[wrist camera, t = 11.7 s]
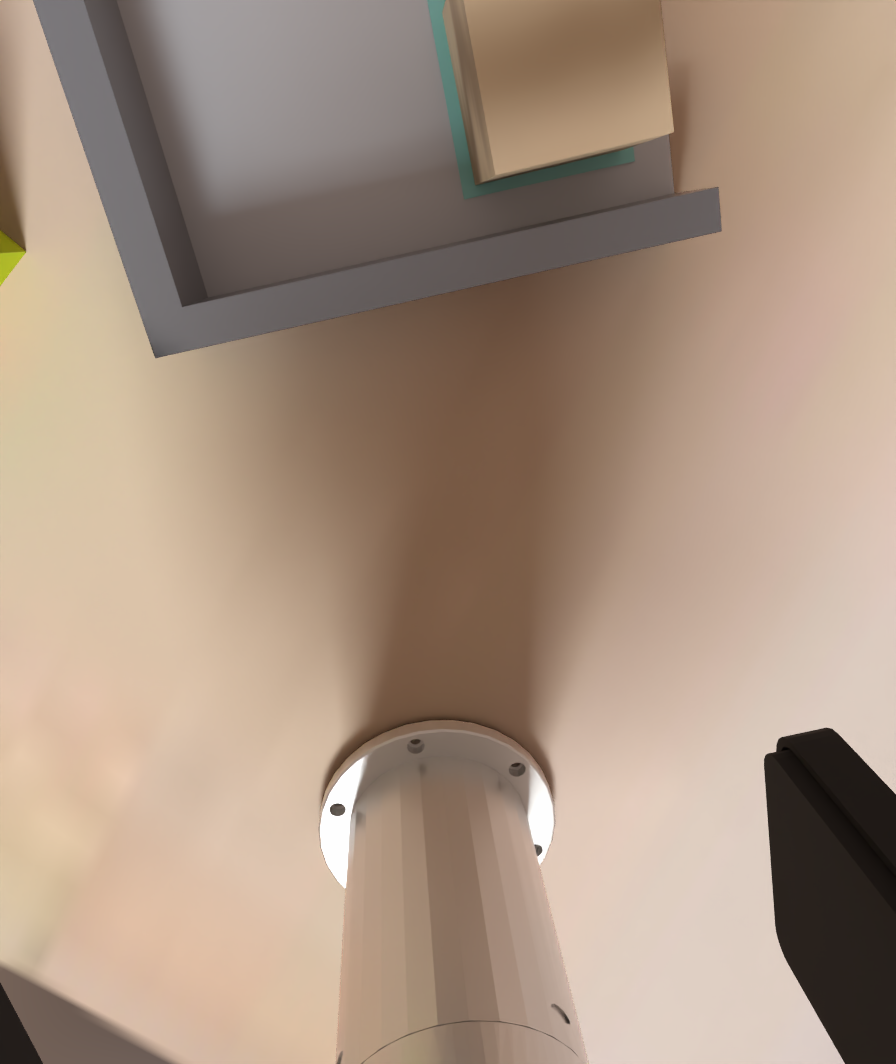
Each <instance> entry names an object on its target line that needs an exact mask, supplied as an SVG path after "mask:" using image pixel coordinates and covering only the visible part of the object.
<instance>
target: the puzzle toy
mask: <svg viewBox="0 0 896 1064" xmlns="http://www.w3.org/2000/svg"><path fill="white" fill-rule="evenodd" d="M25 253H26V251H25V250H24V249H23V248H21V247H20V246H19V245H18V244H17V243H15V242H14V241H13V240H12V239H11V238H9V237H8V236H7V235H6V234H5V233H3V232H2V231H1V230H0V286H1V284H2V283H3V282H4V280H5V279H6V278H7V276H8V275H9V274H10V272H11V271H12V270H13V269H14V267H15V266H16V265H17V263H18V262H19V261H20V259H21V258H22V257H23V255H24V254H25Z"/></svg>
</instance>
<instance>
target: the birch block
mask: <svg viewBox="0 0 896 1064" xmlns="http://www.w3.org/2000/svg"><path fill="white" fill-rule="evenodd" d="M442 15H443V20H444V26H445V31H446V36H447V41H448V46H449V52H450V57H451V62H452V67H453V73H454V78H455V83H456V88H457V93H458V99H459V104H460V109H461V114H462V119H463V125H464V130H465V135H466V140H467V145H468V151H469V156H470V161H471V166H472V172H473V177H474V182H475V185H479V184H484V183H488V182H492V181H496V180H500V179H505V178H509V177H513V176H517V175H521V174H525V173H530V172H534V171H538V170H542V169H546V168H550V167H555V166H559V165H563V164H567V163H571V162H576V161H580V160H584V159H588V158H592V157H596V156H601V155H605V154H609V153H613V152H617V151H621V150H624V149H627V148H630V147H633V146H636V145H639V144H642V143H645V142H647V141H650V140H653V139H656V138H659V137H662V136H665V135H668V134H670V133H673V132H674V126H673V116H672V107H671V97H670V87H669V78H668V68H667V59H666V49H665V39H664V30H663V20H662V11H661V1H660V0H446V1H445V4H444V8H443V12H442Z"/></svg>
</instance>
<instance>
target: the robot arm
mask: <svg viewBox="0 0 896 1064" xmlns="http://www.w3.org/2000/svg"><path fill="white" fill-rule="evenodd" d="M764 770H765V784H766V798H767V813H768V827H769V841H770V856H771V870H772V884H773V898H774V913H775V926H776V933H777V937H778V940H779V943H780V946H781V949H782V952H783V954H784V957H785V959H786V961H787V963H788V964H789V966H790V968H791V970H792V971H793V973H794V975H795V977H796V978H797V980H798V982H799V984H800V985H801V987H802V989H803V991H804V992H805V994H806V996H807V998H808V1000H809V1001H810V1003H811V1005H812V1007H813V1008H814V1010H815V1012H816V1014H817V1015H818V1017H819V1019H820V1021H821V1022H822V1024H823V1026H824V1028H825V1029H826V1031H827V1033H828V1035H829V1036H830V1038H831V1040H832V1042H833V1043H834V1045H835V1047H836V1049H837V1050H838V1052H839V1054H840V1056H841V1057H842V1059H843V1061H844V1063H845V1064H896V794H895V793H894V792H893V791H892V790H891V789H890V788H889V787H888V786H887V785H886V784H885V783H884V782H883V781H882V780H881V778H880V777H879V776H878V775H877V774H876V773H875V772H874V771H873V770H872V769H871V768H870V767H869V766H868V765H867V764H866V763H865V762H864V761H863V760H862V758H861V757H860V756H859V755H858V754H857V753H856V752H855V751H854V750H853V749H852V748H851V747H850V746H849V745H848V744H847V743H846V742H845V741H844V740H843V738H842V737H841V736H840V735H839V734H838V733H836V732H835V731H834V730H833V729H830V728H823V729H818V730H814V731H809V732H804V733H800V734H795V735H790V736H786V737H782V738H780V739H779V740H778V742H777V750H776V752H774V753H769V754H767V755H766V756H765V759H764ZM554 827H555V810H554V802H553V798H552V795H551V791H550V788H549V784H548V782H547V780H546V778H545V776H544V774H543V771H542V769H541V768H540V766H539V765H538V764H537V762H536V761H535V760H534V758H533V757H532V756H531V755H530V753H529V752H527V751H526V750H525V749H524V748H523V747H521V746H520V745H519V744H518V743H517V742H515V741H514V740H513V739H511V738H509V737H507V736H505V735H503V734H502V733H500V732H498V731H496V730H493V729H490V728H487V727H484V726H481V725H478V724H475V723H469V722H462V721H455V720H429V721H423V722H418V723H412V724H407V725H404V726H401V727H398V728H395V729H392V730H390V731H387V732H384V733H382V734H380V735H379V736H377V737H375V738H373V739H372V740H370V741H368V742H366V743H364V744H363V745H362V746H361V747H360V748H358V749H357V750H356V751H355V752H354V753H352V754H351V755H350V756H349V757H348V758H347V759H346V760H345V761H344V762H343V764H342V765H341V766H340V767H339V768H338V770H337V771H336V772H335V773H334V775H333V777H332V779H331V781H330V783H329V785H328V787H327V789H326V790H325V794H324V798H323V801H322V805H321V809H320V821H319V838H320V847H321V850H322V853H323V856H324V859H325V862H326V864H327V866H328V867H329V869H330V871H331V872H332V874H333V875H334V877H335V879H336V880H337V881H338V882H339V883H340V884H341V885H342V886H343V887H344V888H345V903H344V921H343V940H342V958H341V976H340V994H339V1012H338V1030H337V1048H336V1064H589V1062H588V1058H587V1054H586V1050H585V1046H584V1042H583V1038H582V1034H581V1030H580V1026H579V1022H578V1018H577V1014H576V1010H575V1006H574V1002H573V998H572V994H571V990H570V986H569V982H568V978H567V974H566V970H565V966H564V962H563V958H562V954H561V950H560V946H559V942H558V938H557V934H556V930H555V926H554V922H553V918H552V914H551V910H550V906H549V902H548V898H547V894H546V890H545V886H544V882H543V878H542V874H541V870H540V865H541V863H542V862H543V860H544V858H545V857H546V855H547V852H548V850H549V847H550V845H551V842H552V840H553V834H554ZM0 1064H43V1063H42V1061H41V1059H40V1057H39V1056H38V1053H37V1051H36V1049H35V1048H34V1046H33V1044H32V1042H31V1040H30V1038H29V1036H28V1034H27V1032H26V1031H25V1029H24V1027H23V1025H22V1023H21V1021H20V1019H19V1017H18V1015H17V1013H16V1011H15V1010H14V1008H13V1006H12V1004H11V1002H10V1000H9V998H8V996H7V994H6V993H5V991H4V989H3V987H2V985H1V983H0Z"/></svg>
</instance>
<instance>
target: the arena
mask: <svg viewBox="0 0 896 1064" xmlns="http://www.w3.org/2000/svg"><path fill="white" fill-rule="evenodd" d="M445 1H446V0H33V2H34V5H35V8H36V11H37V14H38V16H39V19H40V22H41V25H42V28H43V31H44V34H45V37H46V40H47V43H48V46H49V49H50V52H51V55H52V57H53V60H54V63H55V66H56V69H57V72H58V75H59V78H60V81H61V84H62V87H63V90H64V93H65V96H66V98H67V101H68V104H69V107H70V110H71V113H72V116H73V119H74V122H75V125H76V128H77V131H78V134H79V136H80V139H81V142H82V145H83V148H84V151H85V154H86V157H87V160H88V163H89V166H90V169H91V172H92V175H93V177H94V180H95V183H96V186H97V189H98V192H99V195H100V198H101V201H102V204H103V207H104V210H105V213H106V216H107V218H108V221H109V224H110V227H111V230H112V233H113V236H114V239H115V242H116V245H117V248H118V251H119V254H120V256H121V259H122V262H123V265H124V268H125V271H126V274H127V277H128V280H129V283H130V286H131V289H132V292H133V295H134V297H135V300H136V303H137V306H138V309H139V312H140V315H141V318H142V321H143V324H144V327H145V330H146V333H147V336H148V338H149V341H150V344H151V347H152V350H153V353H154V356H155V358H158V357H163V356H167V355H172V354H176V353H181V352H185V351H190V350H194V349H198V348H203V347H207V346H212V345H216V344H221V343H225V342H230V341H234V340H239V339H243V338H248V337H252V336H256V335H261V334H265V333H270V332H274V331H279V330H283V329H288V328H292V327H297V326H301V325H306V324H310V323H314V322H319V321H323V320H328V319H332V318H337V317H341V316H346V315H350V314H355V313H359V312H364V311H368V310H372V309H377V308H381V307H386V306H390V305H395V304H399V303H404V302H408V301H413V300H417V299H422V298H426V297H430V296H435V295H439V294H444V293H448V292H453V291H457V290H462V289H466V288H471V287H475V286H480V285H484V284H488V283H493V282H497V281H502V280H506V279H511V278H515V277H520V276H524V275H529V274H533V273H538V272H542V271H546V270H551V269H555V268H560V267H564V266H569V265H573V264H578V263H582V262H587V261H591V260H596V259H600V258H604V257H609V256H613V255H618V254H622V253H627V252H631V251H636V250H640V249H645V248H649V247H654V246H658V245H662V244H667V243H671V242H676V241H680V240H685V239H689V238H694V237H698V236H703V235H707V234H712V233H716V232H720V231H722V229H721V216H720V203H719V189H718V187H714V188H707V189H700V190H693V191H686V192H679V193H674V183H673V173H672V162H671V152H670V141H669V134H668V135H665V136H662V137H659V138H656V139H653V140H650V141H647V142H645V143H642V144H639V145H636V146H633V147H630V148H627V149H624V150H621V151H617V152H613V153H609V154H605V155H601V156H596V157H592V158H588V159H584V160H580V161H576V162H571V163H567V164H563V165H559V166H555V167H550V168H546V169H542V170H538V171H534V172H530V173H525V174H521V175H517V176H513V177H509V178H505V179H500V180H496V181H492V182H488V183H484V184H479V185H475V182H474V177H473V172H472V166H471V161H470V156H469V151H468V145H467V140H466V135H465V130H464V125H463V119H462V114H461V109H460V104H459V99H458V93H457V88H456V83H455V78H454V73H453V67H452V62H451V57H450V52H449V46H448V41H447V36H446V31H445V26H444V20H443V15H442V12H443V8H444V4H445Z"/></svg>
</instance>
